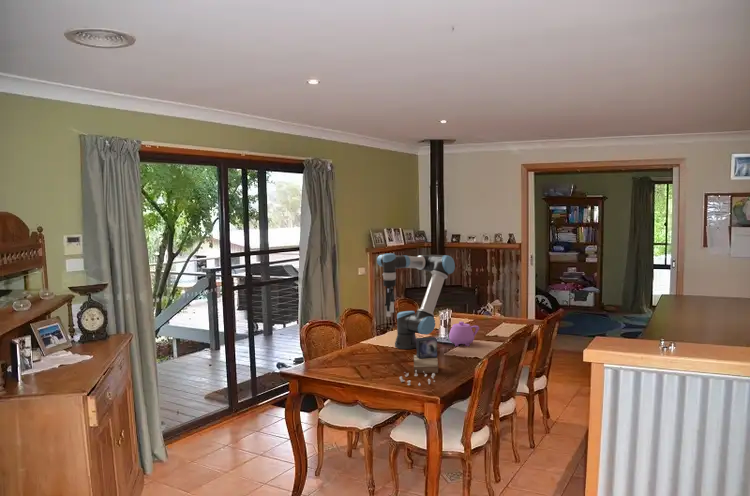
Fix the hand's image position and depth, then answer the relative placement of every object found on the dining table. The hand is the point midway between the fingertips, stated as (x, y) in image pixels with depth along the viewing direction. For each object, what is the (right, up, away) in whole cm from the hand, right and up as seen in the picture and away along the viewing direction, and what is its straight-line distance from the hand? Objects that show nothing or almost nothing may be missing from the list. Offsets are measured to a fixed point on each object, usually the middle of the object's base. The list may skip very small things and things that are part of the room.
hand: (390, 314), depth 348 cm
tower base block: (+19, -29, -25) cm, 43 cm away
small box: (+20, -21, -26) cm, 38 cm away
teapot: (+50, -24, +35) cm, 65 cm away
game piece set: (+13, -30, -44) cm, 55 cm away
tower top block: (+19, -25, -26) cm, 40 cm away
